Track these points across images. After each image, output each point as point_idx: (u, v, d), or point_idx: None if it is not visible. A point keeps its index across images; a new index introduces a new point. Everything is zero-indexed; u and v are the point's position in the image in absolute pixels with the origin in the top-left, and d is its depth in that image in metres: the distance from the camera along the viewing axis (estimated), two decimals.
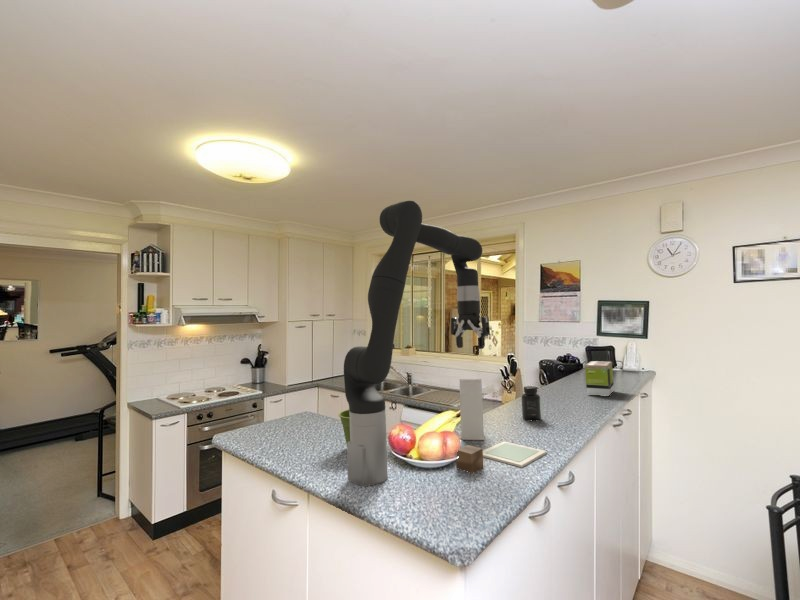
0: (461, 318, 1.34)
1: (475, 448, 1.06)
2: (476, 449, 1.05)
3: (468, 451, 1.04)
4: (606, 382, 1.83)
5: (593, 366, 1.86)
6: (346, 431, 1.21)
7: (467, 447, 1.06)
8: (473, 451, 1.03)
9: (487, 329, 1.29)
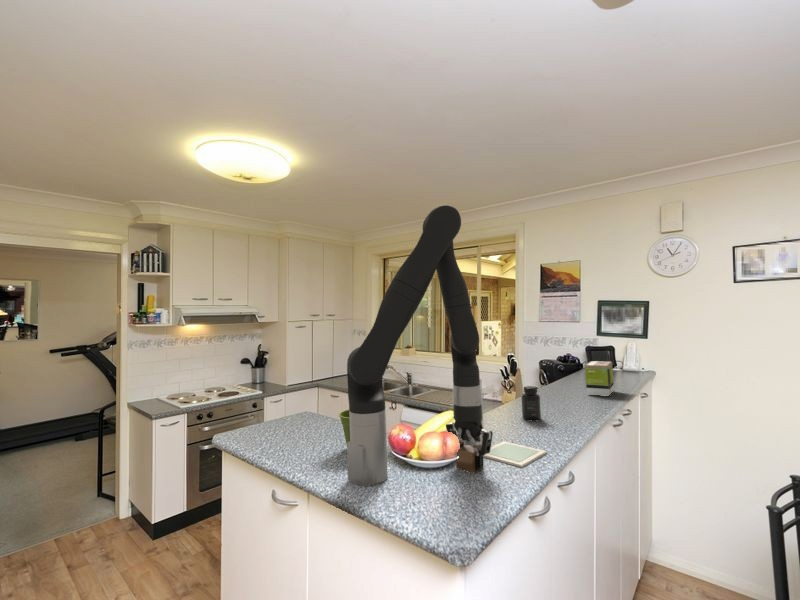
0: (458, 423, 1.07)
1: None
2: None
3: (468, 451, 1.04)
4: (606, 382, 1.83)
5: (593, 366, 1.86)
6: (346, 431, 1.21)
7: (467, 447, 1.06)
8: (473, 451, 1.03)
9: (488, 446, 1.02)
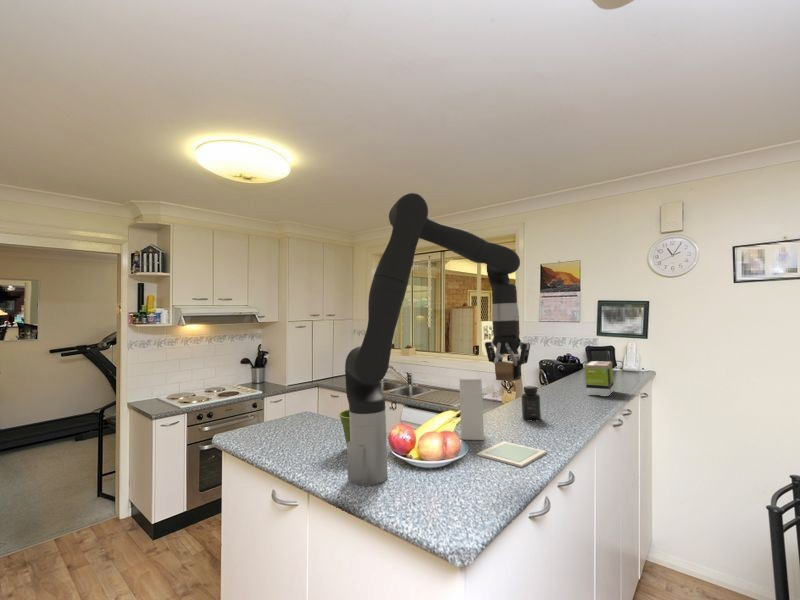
0: (496, 339, 1.16)
1: None
2: None
3: (507, 362, 1.13)
4: (606, 382, 1.83)
5: (593, 366, 1.86)
6: (346, 431, 1.21)
7: (505, 361, 1.16)
8: (512, 362, 1.13)
9: (525, 357, 1.12)
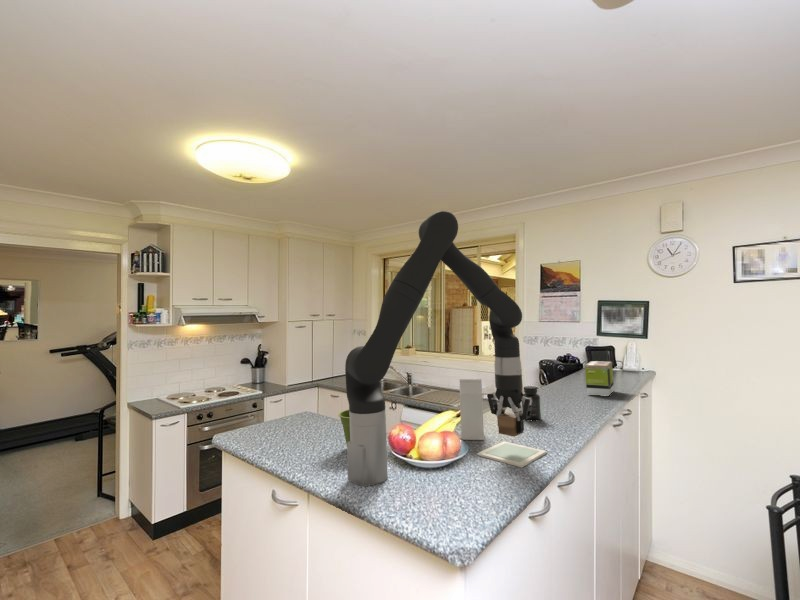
0: (499, 392, 1.16)
1: None
2: None
3: (510, 416, 1.13)
4: (606, 382, 1.83)
5: (593, 366, 1.86)
6: (346, 431, 1.21)
7: (507, 414, 1.16)
8: (514, 416, 1.13)
9: (528, 412, 1.11)
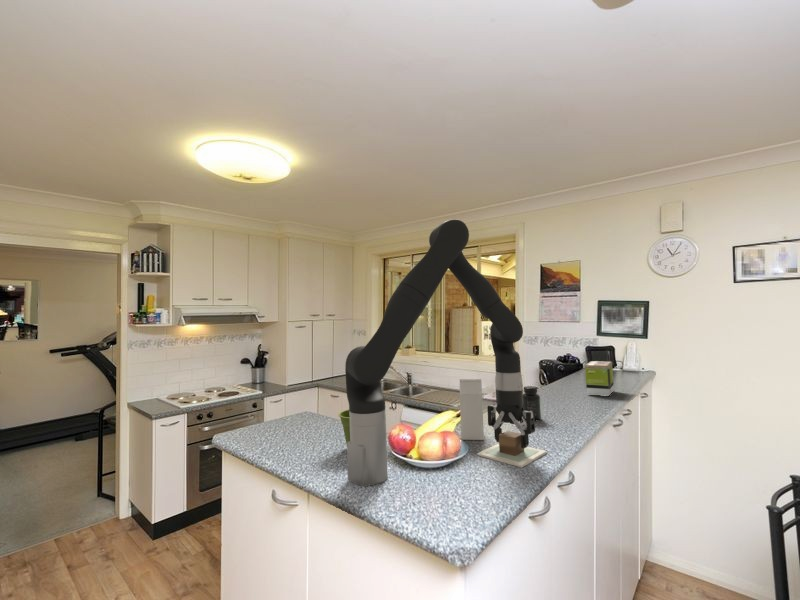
0: (500, 408, 1.15)
1: (516, 433, 1.15)
2: (517, 434, 1.14)
3: (511, 436, 1.12)
4: (606, 382, 1.83)
5: (593, 366, 1.86)
6: (346, 431, 1.21)
7: (508, 432, 1.15)
8: (515, 436, 1.12)
9: (532, 426, 1.10)
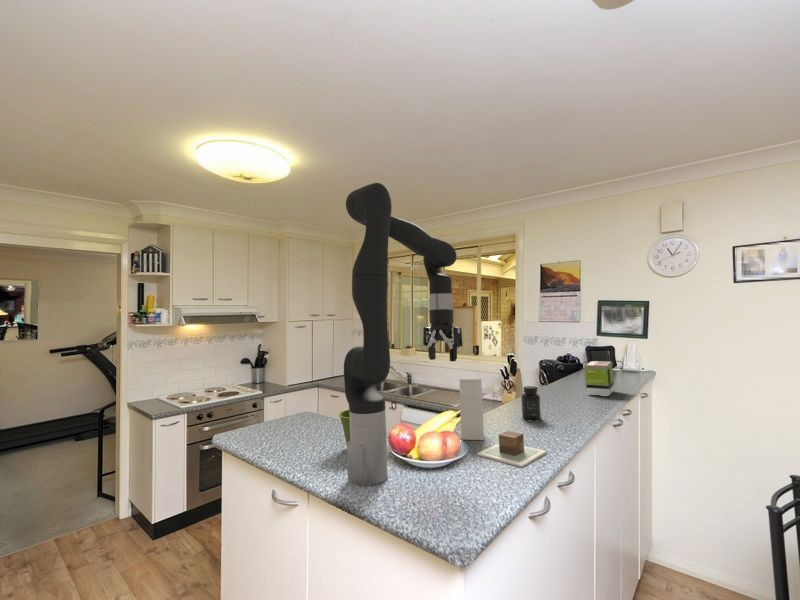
0: (433, 328, 1.25)
1: (516, 433, 1.15)
2: (517, 434, 1.14)
3: (511, 436, 1.12)
4: (606, 382, 1.83)
5: (593, 366, 1.86)
6: (346, 431, 1.21)
7: (508, 432, 1.15)
8: (515, 436, 1.12)
9: (459, 340, 1.20)
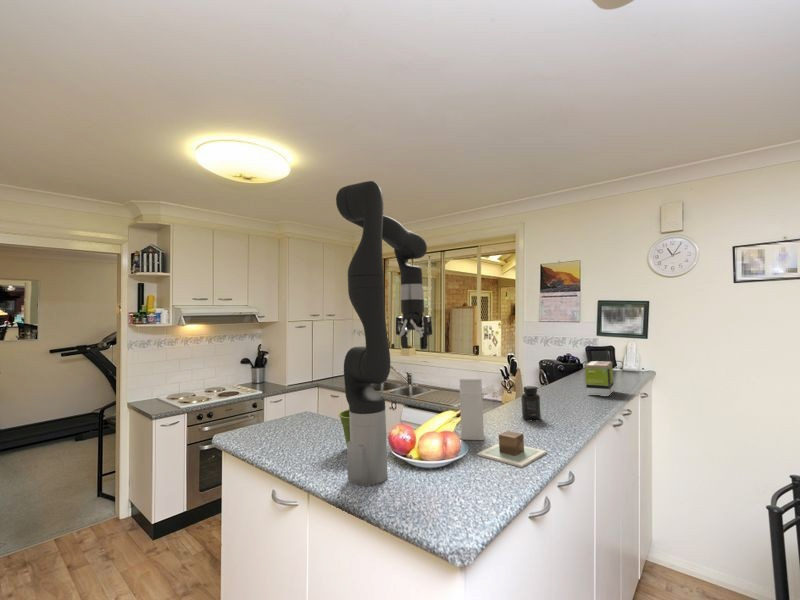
0: (405, 317, 1.30)
1: (516, 433, 1.15)
2: (517, 434, 1.14)
3: (511, 436, 1.12)
4: (606, 382, 1.83)
5: (593, 366, 1.86)
6: (346, 431, 1.21)
7: (508, 432, 1.15)
8: (515, 436, 1.12)
9: (429, 329, 1.24)
